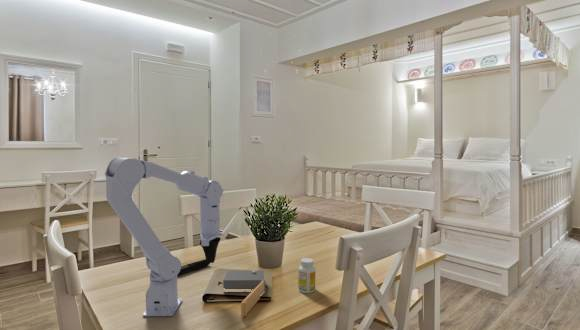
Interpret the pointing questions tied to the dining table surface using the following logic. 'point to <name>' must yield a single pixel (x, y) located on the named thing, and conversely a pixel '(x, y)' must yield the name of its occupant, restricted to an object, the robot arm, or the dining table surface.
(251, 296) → the side door
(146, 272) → the dining table surface
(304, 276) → the supplement bottle
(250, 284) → the camera body
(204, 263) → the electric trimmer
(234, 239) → the dining table surface
